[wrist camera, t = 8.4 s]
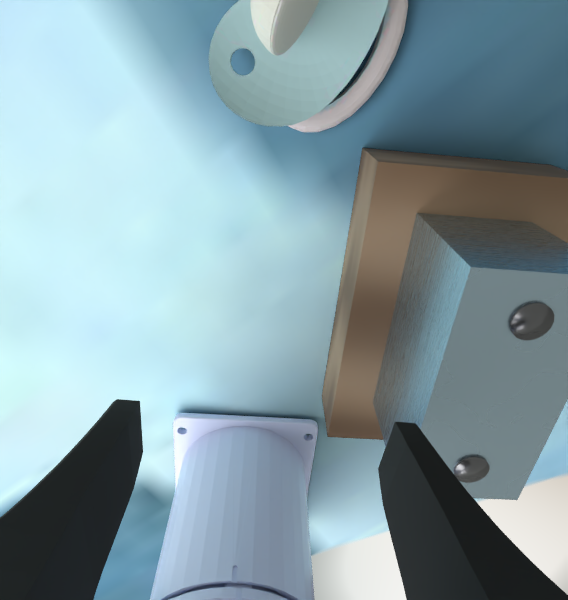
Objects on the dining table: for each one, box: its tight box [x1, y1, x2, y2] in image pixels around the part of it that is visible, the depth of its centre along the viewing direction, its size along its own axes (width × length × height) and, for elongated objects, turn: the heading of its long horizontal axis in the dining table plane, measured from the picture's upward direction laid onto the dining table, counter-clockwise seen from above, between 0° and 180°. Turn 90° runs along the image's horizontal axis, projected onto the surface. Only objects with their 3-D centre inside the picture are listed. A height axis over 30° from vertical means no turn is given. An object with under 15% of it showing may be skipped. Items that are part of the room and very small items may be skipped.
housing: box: [373, 213, 568, 500], centre depth 16 cm, size 4×9×5 cm, turn 175°
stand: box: [322, 148, 568, 440], centre depth 20 cm, size 13×8×3 cm, turn 175°
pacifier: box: [209, 0, 408, 132], centre depth 13 cm, size 7×6×6 cm
